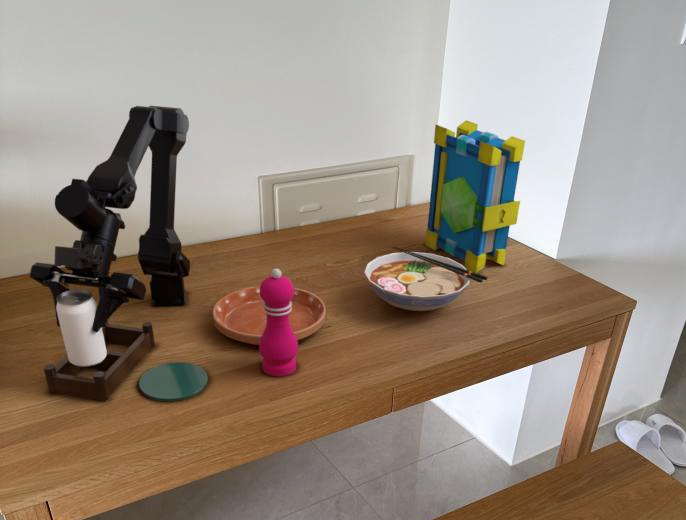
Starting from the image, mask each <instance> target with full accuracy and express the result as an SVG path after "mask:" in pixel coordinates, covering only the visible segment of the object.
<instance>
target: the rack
mask: <svg viewBox="0 0 686 520" xmlns="http://www.w3.org/2000/svg"><path fill="white" fill-rule="evenodd" d="M102 331H103V336H104V341H105V345H107V344H108V343H112V344H118V345H126V346H129V347H128V348H127V349H126V350H125V351H124V352H121V351H114V350H108V349H106V351H107V355H106V357H105V359H104V360H103V361H102V362H101V363H99V364H97V365H94V366H89V367H88V368H93V369H99V370H105V372H103V371H96V372H94V373H93V374H92V377H93V378H91V377H85V376H78V375H76V374H77V373H78V372H79V371H80V370H82V368H83V367H79V366H75V365H73V364H72V363H70V361H69V359H68V356H67V355H66V356H65V357H64V358H63V359H62V360H60V362H59V363H57V364H56V366H55V364H52V363H48V364H45V365H44V366H43V372H44V376H45V380H46V385H47V388H48V391H49V394H52V395H55V394H59V395H65V396H72V397H78V398H84V399H89V400H97V401H99V402H106V401H108V400H109V399H110V396H111V395H112V394H113V392H115V390H117V388H118V387H119V386H120V385H121V384H122V383H123V381H125V380H126V378H128V376H129V375H130V374H131V372H132V371H133V370H134V369H135V368H136V367H137V366H138V365H139V363H140V362H141V361H142V360H143V359H144V358H145V357H146V356H147V355H148V353H149V352H150V351H151V350H152V349H154V348H155V347H156V342H155V336H154V329H153V323H152V322H151V321H144V322H142V323H141V327H135V326H127V325H120V324H113V323H109V319H108V320H107V321H106V322H105V324H104V325H103V326H102Z"/></svg>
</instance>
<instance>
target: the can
mask: <svg viewBox="0 0 686 520" xmlns="http://www.w3.org/2000/svg"><path fill="white" fill-rule="evenodd" d="M97 307H98V304H97V300H96V299H95V298H94V297H93V293H92V292H91V291H90V290H87V289H79V288H78V289H77V288H76V289H75V288H74V289H69V291H66V292H63V293H61V294H60V295H59V296H58V297H57V306H56V310H57V315H58V319H59V323H60V327H59V328H60V331H61V335H62V339H63V343H64V347H65V351H66V356H68V359H69V361H70V363H72V364H73V365H75V366H79V367H82V368H90V367H89V366H94V365H97V364H99V363H101V362H102V361H103V360H104V359H105V357H106V355H107V351H106V350H107V347H106V344H105V341H104V336H103V331H102V327H101V329H100V330H99V331H98V332H94V331H93V323H94V319H95V315H96V311H97Z"/></svg>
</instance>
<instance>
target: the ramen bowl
mask: <svg viewBox="0 0 686 520" xmlns="http://www.w3.org/2000/svg"><path fill="white" fill-rule="evenodd" d="M391 248H392V249H394V250H395V251H399V252H392V253H387V254H384V255H380V256H377V257H376V258H374V259H373V260H371V261H370V262H368V263H367V265H366V266H365V270H364V275H365V276H366V279H367V280H368V282H369V284H370V286H371V287H372V289H373V290H374V292H375V294H376V295H377V296H378V297H379V298H380V299H382V300H383V301H384V302H386V303H388V304H389V305H391V306H393V307H395V308H399V309H402V310H406V311H411V312H412V311H413V312H425V311H426V312H427V311H433V310H436V309H440V308H443V307H446V306H448V305H449V304H452V302H453V301H455V300H456V299H457V298H458V297H459V296H460V295H461V294H462V293H463V292H464V291H465V290H466V289H467V287H468V286H469V284H470V281H471V280H472V281H475V282H478V283H481V284H482V283H483V282H484V281H488V276H486V275H483V274H480V273H478V272H477V273H474V272H472V271H470V270H468V269H467V268H465V267H464V266H465V265H463V264H461V263H459V262H457V261H455V260H453V259H451V258H449V257H445V256H442V255H438V254H434V253H429V252H428V253H427V252H417V251H410V250H406V249H404V248H401V247H397V246H391ZM483 280H484V281H483Z"/></svg>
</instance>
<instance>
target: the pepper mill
mask: <svg viewBox="0 0 686 520" xmlns="http://www.w3.org/2000/svg"><path fill="white" fill-rule="evenodd" d="M270 274H271V275H269V276H267V277H265V278H264V279H263V280H262V281H261V284H260V285H259V286H260V296H261V298H262V300H263V301H264V303H263V306H264V308H263V310H264V312H265V313H266V315H267V324H266V328H265V330H264V332H263V334H262V336H261V339H260V343H259V345H258V351H259V354H260V356H261V357H262V361H261V362H262V363H261V364H262V370H263V371H264V373H265V374H267V375H269V376H272V377H286V376H289V375H291V374H293V373H294V372H296V370H297V358H296V356H297V355H298V353H299V340H298V341H297V338H296V336H295V334H294V332H293V331H292V329H291V327H290V323H289V313H290V312H291V310H292V307H291V305H292V303H291V300H292V298H293V296H294V288H295V287H294V284H293V282H292V281H291V280H290V279H289V278H288V277H286V276H284V275H282V274H283V273H282V271H281V269H280V268H273V269H272V270H271V273H270Z"/></svg>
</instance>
